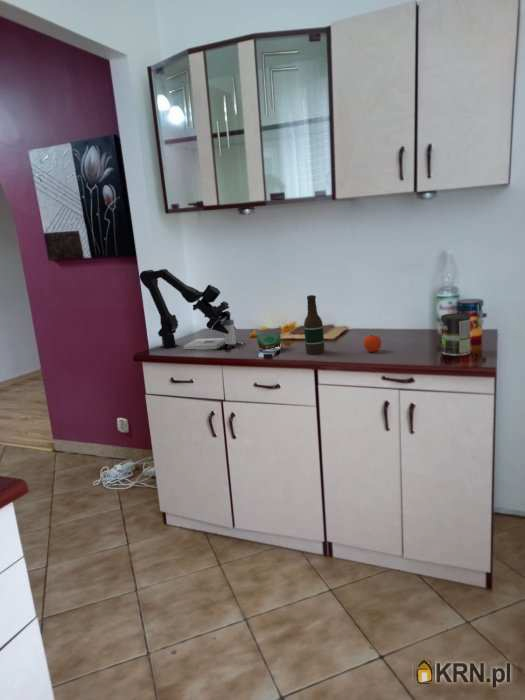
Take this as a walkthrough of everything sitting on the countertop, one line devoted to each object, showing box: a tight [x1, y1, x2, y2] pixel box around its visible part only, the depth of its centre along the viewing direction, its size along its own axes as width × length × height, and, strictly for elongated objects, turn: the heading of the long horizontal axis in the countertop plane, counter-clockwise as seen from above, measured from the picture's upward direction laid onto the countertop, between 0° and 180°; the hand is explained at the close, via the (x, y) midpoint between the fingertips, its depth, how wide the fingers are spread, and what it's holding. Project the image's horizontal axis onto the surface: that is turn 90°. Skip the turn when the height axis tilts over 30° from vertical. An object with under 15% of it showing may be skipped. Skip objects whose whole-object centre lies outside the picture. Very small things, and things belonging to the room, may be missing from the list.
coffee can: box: [440, 313, 471, 357], centre depth 196 cm, size 10×10×14 cm
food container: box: [254, 326, 283, 352], centre depth 229 cm, size 12×6×10 cm, turn 105°
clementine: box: [363, 334, 382, 353], centre depth 211 cm, size 8×7×7 cm
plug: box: [223, 319, 237, 345], centre depth 249 cm, size 4×4×12 cm
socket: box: [183, 337, 225, 350], centre depth 254 cm, size 17×15×2 cm
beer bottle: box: [303, 294, 325, 356], centre depth 216 cm, size 8×8×24 cm
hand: (231, 331), depth 249 cm, fingers open, 9 cm apart
